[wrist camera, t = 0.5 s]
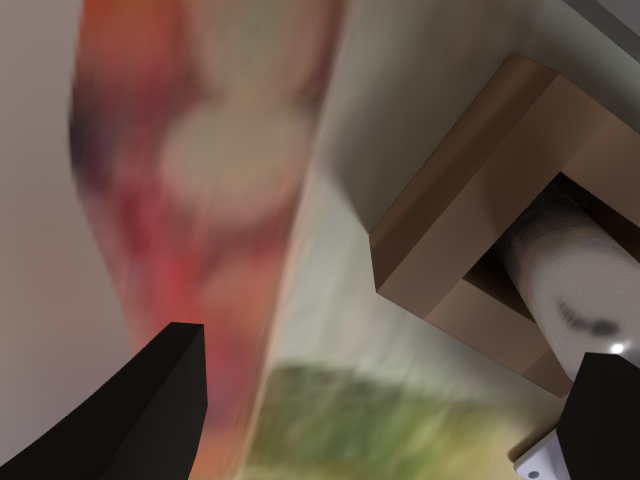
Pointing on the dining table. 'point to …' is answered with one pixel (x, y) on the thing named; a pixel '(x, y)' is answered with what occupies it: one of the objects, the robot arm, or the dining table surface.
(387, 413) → the dining table surface
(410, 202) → the holder
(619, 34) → the tray
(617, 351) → the pin
